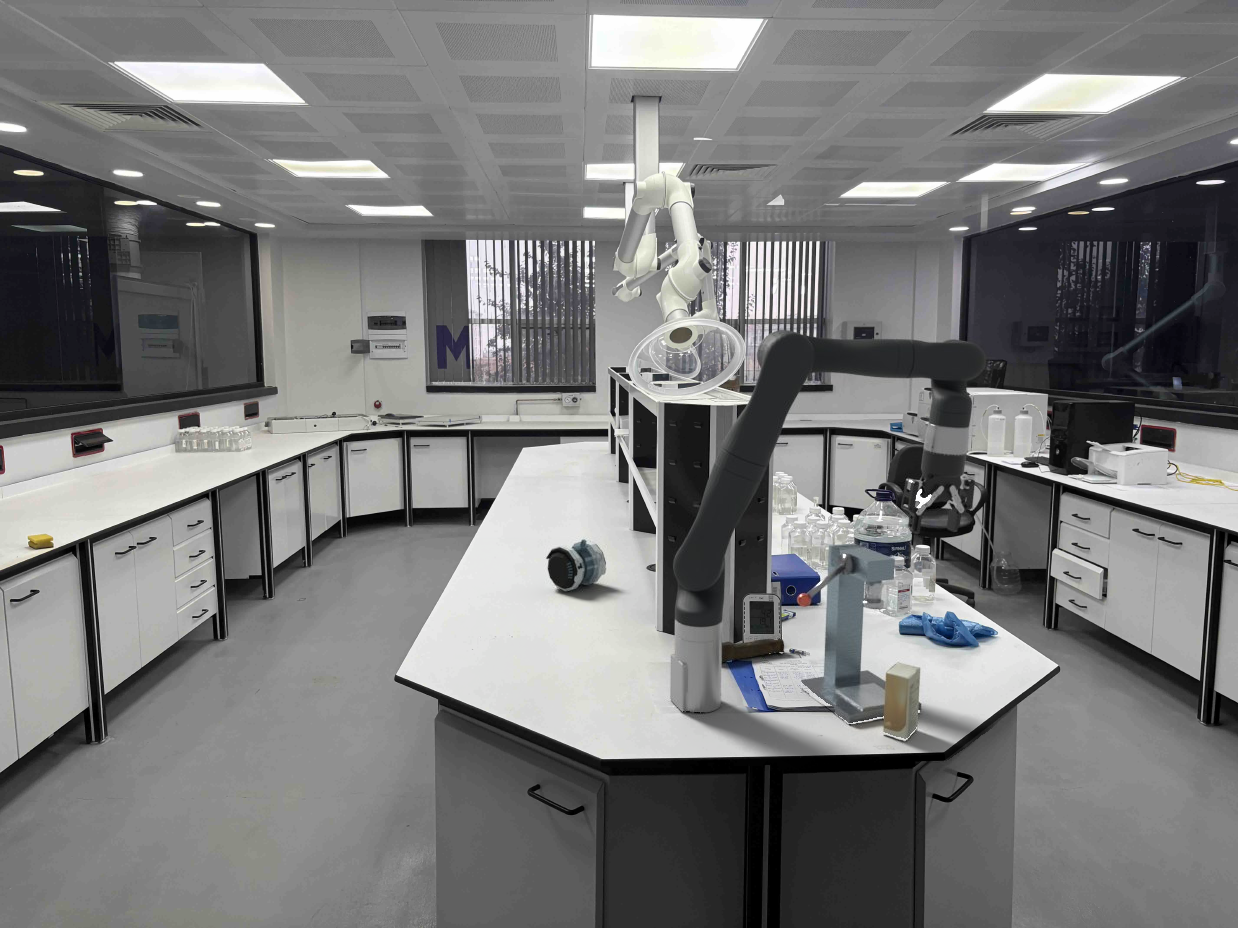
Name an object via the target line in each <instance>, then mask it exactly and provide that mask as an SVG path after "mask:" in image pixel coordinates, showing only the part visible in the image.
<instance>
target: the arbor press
mask: <svg viewBox="0 0 1238 928" xmlns="http://www.w3.org/2000/svg"><path fill="white" fill-rule="evenodd" d="M827 557H828V560H827V576H825V577H824V578H823V579H821V580H820V581H819V582H818V583H817V584H815V586H813V588H811V589H810V590H809V591H807V593H805V592H803V593H800V594H798V596H797V598H796V602H797V604H798V605H799V606H800V607H803V608H807V607H809V606H810V605H811V603H812V598H813V597H814V596H815V595H817V594H818V593H819V592H820V591H821V590H823V589H824V588H825V587H826V606H825V607H826V608H825V609H826V610H825V611H826V612H825V631H824V632H825V635H824V636H825V637H824V657H823V658H824V659H823V660H824V661H823V662H824V663H823V665H824V666H823V676H820V677H818V676H817V677H812V678H806V679H800V683H801V682H802V683H803V684H804V685H805V686H807V687H808V688H809V689H810V690H811V691H812V692H813V693H815V694H816V695H817V696H818V697H820V698H821V699H823V700H824V701H825V702H826V703H828V704H830V705H832V706H833V707H834V709H835V713H836V714H837V715H838V716H840V717H842V718H843V719H844V720H846V721H847V722H848V723H853V722H858V721H864V720H869V719H873V718H877V717H883V716H884V704H885V682H886V680H884V679H883V678H881V677H879V676H877V675H876V674H874V673H873V672H871V671H869V670H861V669H862V667H861V666H862V648H863V647H862V646H863V645H862V644H863V625H864V623H863V622H864V608H866V609H869V610H880V609H884V608H885V601H884V600H883V599H882V594H883V593H882V592H883V591H882V590H883V589H882V588H883V581H891V580H892V581H893V580H895V565H896V559H895V558H894V557H892V556H889V555H886V554H883V553H880V552H878V551H875V550H872V549H870V548H868V547H865V546H862V545H859V544H857V543H854V542H853V543H846V544H845V543H843V544H832V545H828V555H827ZM918 710H921V711H922V703H921V702H920V701H919V706H918Z"/></svg>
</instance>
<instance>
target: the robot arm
mask: <svg viewBox="0 0 1238 928" xmlns="http://www.w3.org/2000/svg"><path fill="white" fill-rule="evenodd" d="M756 358H757V359H756V360H757V362H758V366H759V367H760V371H759V374H758V378H757V380H756V384H755V386H754V388H753V391H752V394H751V396H750V398H749V401H748V402H747V404H746V406H745V407H744V409H743V410H742V411H741V413H740V415H739V416H738V417H737V419H736V420H735V422H734V423H733V424H732V426H731V427H730V429H729V431H728V432H727V433H726V436H724V437H725V438H724V440H723V441H722V444H721V446H720V449H719V451H718V454H717V456H716V458H715V460H714V463H713V465H712V469H711V472H710V475H709V477H708V479H707V483H706V486H705V490H704V492H703V497H702V499H701V504H700V506H699V509H698V512H697V515H696V518H695V519H694V522H693V524H692V526H691V528H690V530H689V532H688V533H687V536H686V537H685V538H684V541H683V543H682V544H681V545H680V547H679V548H678V550H677V552H676V553H675V555H674V558H673V563H672V567H673V575H674V577H675V578H676V581H677V592H676V601H675V605H674V653H672V654H671V655H670V679H669V681H670V683H669V685H670V687H669V688H670V691H669V692H670V694H669V695H670V696H669V699H671V700H670V701H671V702H672V703H673V704H674V706H675V707H676V708H677V707H678V708H679V709H680V710H681V711H682V712H681V711H680V710H679V709H678V708H677V709H678V710H679V711H680V712H681V713H687V712H686V711H690V712H689V713H694V712H700V714H701V712H705V713H710V712H713V711H716V710H718V709H719V708H720V707H721V704H722V702H721V701H722V664H723V663H722V643H723V615H724V614H723V613H724V606H725V605H724V603H725V583H726V582H725V581H726V580H725V579H726V559H725V558H726V553H727V549H728V547H729V544H730V541H731V538H732V535H733V533H734V531H735V529H736V527H737V525H738V523H739V521H740V520H741V518H742V517H743V515H744V513H745V511H746V510H747V508H748V506H749V504H750V503H751V502H752V499H753V497H754V495H756V492H757V490H758V488H759V486H760V485H761V484H760V483H761V482H762V480H763V477H764V475H765V473H766V471H767V469H768V466H769V463H770V462H771V461H770V460H771V458H772V455H773V453H774V450H775V447H776V444H777V442H778V440H779V439H780V436H781V433H782V429H783V426H784V424H785V421H786V418H787V417H788V414H789V411H790V410H791V408H792V405H793V404H794V402H795V400H796V398H797V397H798V395H799V393H800V392H801V389H802V387H803V386H804V384H805V383H806V381H807V379H808V377H809V375H810V374H816V373H817V374H820V373H833V374H834V373H835V374H847V375H848V374H849V375H855V376H863V377H871V378H885V379H928V380H929V379H930V384H931V385H930V390H931V404H930V411H929V415H928V416H929V418H928V424H927V428H926V431H925V436H924V442H923V449H922V450H923V451H922V457H921V464H920V465H921V466H920V470H921V473H922V474H921V477H920V479H919V480H918V479H913V478H910V477H907V478H906V479H905V483H904V488H903V493H902V499H901V505H900V507H901V509H903V510H905V511H906V512H909V516H908V524H907V528H908V529H909V532H911V533H913V534H920V533H921V528H922V527H921V526H922V520H923V515H922V514H923V513H924V511H925V510H926V509H927V508H928V507H930V506H931V505H932V504H933V503H940V502H943V503H947V504H948V507H949V508H950V509H951V510H948V517H947V523H946V529H947V530H948V531H950V532H954V533H955V532H958V529H959V528H960V526H961V519H962V514H963V513H964V511H966V510H972V508H973V504H974V495H975V494H974V493H975V486H976V485H975V484H976V481H975V479H973V478H971V477H968V476H963V475H964V473H965V467H966V462H967V461H966V460H967V453H968V446H969V438H970V423H971V415H972V410H973V401H972V398H971V396H970V395H969V393H968V389H967V387H968V385H967V384H968V381H971V380H974V379H975V378H977V377H978V376H979V375H980V374H981V373H982V372H983V371H984V370H985V367H986V362H987V358H986V353H985V352H984V351H983V349H982V348H981V347H980V346H978V345H977V344H975V343H973V342H970V341H965V340H960V339H953V338H952V339H947V340H945V341H943V342H940V341H939V342H938V341H937V342H935V341H934V342H931V341H923V340H918V339H906V338H905V339H902V338H900V339H899V338H876V339H875V338H870V339H869V338H865V339H863V338H861V339H857V338H856V339H855V338H853V339H851V338H850V339H845V338H843V339H842V338H841V339H840V338H825V337H818V336H810V335H808V334H807V335H806V334H803V333H802V334H801V333H799V332H796V331H793V330H789V329H779V330H775V331H773V332H771V333H768V335H766V336H764V337H763V339H762V340H761V342H760V343H759V345H758V348H757V351H756ZM958 490H959V492H958ZM958 493H959V494H958ZM683 711H685V712H683Z"/></svg>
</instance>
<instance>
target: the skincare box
mask: <svg viewBox="0 0 1238 928" xmlns="http://www.w3.org/2000/svg"><path fill="white" fill-rule="evenodd" d="M920 680H921V667H919V666H915V665H912V664H911V665H910V664H907V663H903V662H896V663H895V664H893V665H892V666H891V667H890V668H889V669H888V670H887V671H885V681H886V682H885V704H884V720H883V729H882V732H885V733H888V734H890V735H893V736H896V737H901V738H904V739H906V738H908V737H909V736H910V734H911V733H912V732H913V731H914V730H915V729H916V727H917V728H918V724H919V723H918V722H919V714H918V706H919V702H920V686H921V685H920V684H921V682H920Z"/></svg>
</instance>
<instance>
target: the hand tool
mask: <svg viewBox="0 0 1238 928" xmlns="http://www.w3.org/2000/svg"><path fill="white" fill-rule="evenodd" d="M780 638H781V637H780ZM780 638H779V639H778V640H773V639H771V638H763V639H755V640H753V641H748V642H737V643H733V642H731V641H725V642H723V641H722V662H727V661H731V660H733V661H736V660H740V659H745V658H752V657H759V656H758V655H761V656H765V655H764V654H768V655H770V654H769V653H774V652H785V642H784V639H783V638H781V639H780ZM774 654H775V653H774Z"/></svg>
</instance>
